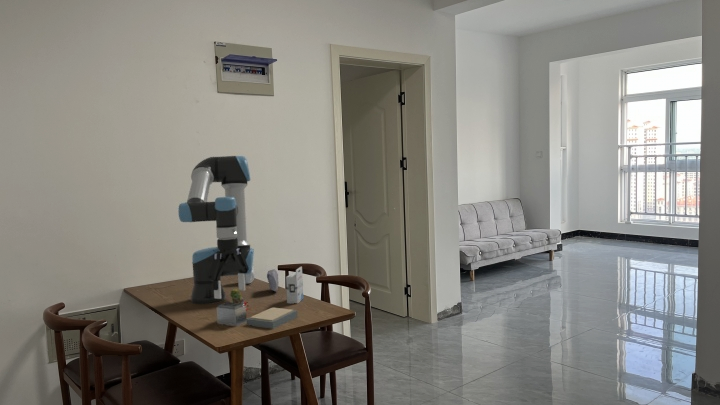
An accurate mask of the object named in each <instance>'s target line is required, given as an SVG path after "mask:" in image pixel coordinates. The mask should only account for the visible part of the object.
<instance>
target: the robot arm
mask: <svg viewBox="0 0 720 405" xmlns="http://www.w3.org/2000/svg"><path fill="white" fill-rule="evenodd" d="M190 175H191V176H190V178H191V184H190V189H189V193H188V197H187V200H186V202H181V203H179V205H178V218H179V221H180V222H182V223H198V222H216V227H215V228H216V239H217V240H216V245H217V246H214V247H212V246H211V247H207V248H202V249H198V250H196V251H195V252H193V253H192V256H191V257H192V262H191V264H192V274H193V275H192V277H193V288H192V292H191V295H190V303H191V304H195V305H210V304H216V303H221V302H224V301H225V300H226V299H227V298H226V297H227V295H226V292H225V290H224V287H223V284H222V280H221V277H231V276H232V277H233V276H237V281H238V290H239V291H246V284H245V280H246V279H245V275H246V274H250V273H251V271H252V266H253V265H254V264H253V263H254V253H255V251H254V248H253V247H251V244H250V243H249V241H247V221H246V220H247V219H246V218H247V216H246V202H245V201H246V197H245V188H247V186H248V182H250V181H251V175H250V168H249V164H248V159H247V157H245V156H243V155H230V156H229V155H227V156H210V157H207V158H205V159H202V160H201V161H199V162H198V163H197V164H196V165H195V166H194V167H193V169H192V171H191V174H190ZM213 183H220V184H221V185H220V186H221V187H222V188H223V189H224V194H225V195H224V196H221V197H216V198H215V199H214V201H208V197H209V194H210V187H211V185H212V184H213Z"/></svg>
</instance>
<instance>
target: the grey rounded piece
mask: <svg viewBox="0 0 720 405" xmlns="http://www.w3.org/2000/svg"><path fill="white" fill-rule="evenodd" d="M266 279H267V282H268V284H269V289H270V290H271V291H274V292H278V287H279V273H278V270H276V268H275V269H269V270H267V273H266Z"/></svg>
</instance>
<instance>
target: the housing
mask: <svg viewBox="0 0 720 405" xmlns="http://www.w3.org/2000/svg"><path fill="white" fill-rule="evenodd" d="M246 308H247V304H246V305H244V304H241V303H233V301H231V302H230V301H226V302H224V303H223V302H222V303H221V304H218V305H217V306H216V321H217V322H216V323H217V324H218V325H223V324H226V325H225V326H229V325H232V326H231V327H239V326H241V325H243V324H246V323H247V311H246ZM245 322H246V323H245ZM240 324H241V325H240ZM238 325H239V326H238Z"/></svg>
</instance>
